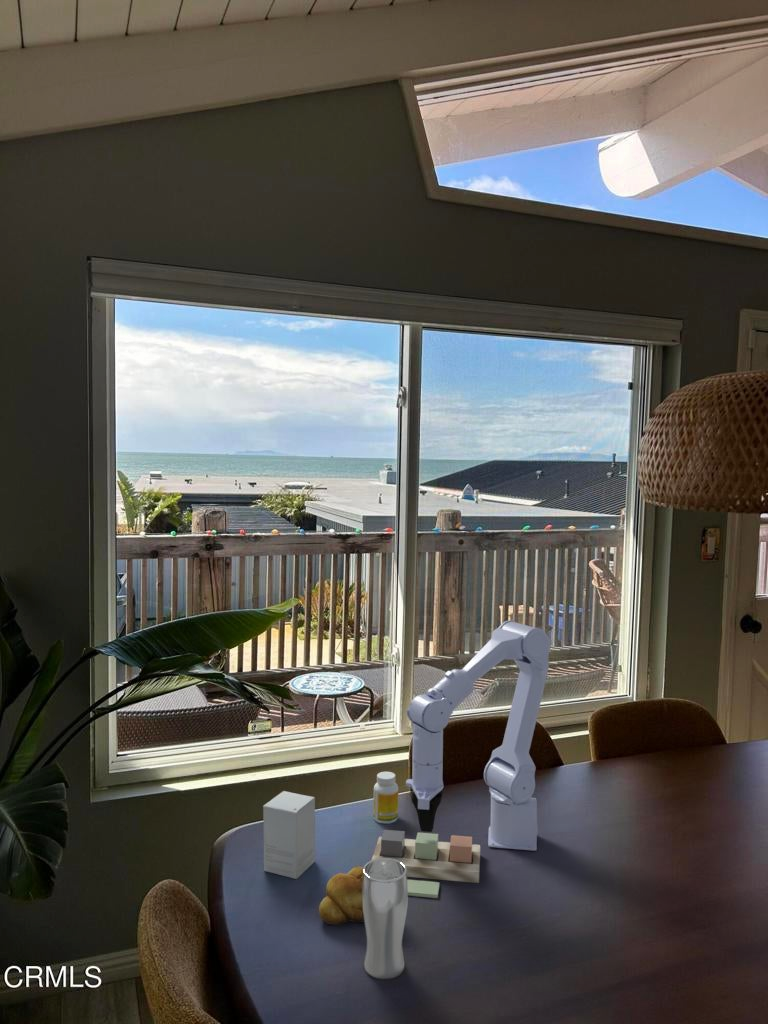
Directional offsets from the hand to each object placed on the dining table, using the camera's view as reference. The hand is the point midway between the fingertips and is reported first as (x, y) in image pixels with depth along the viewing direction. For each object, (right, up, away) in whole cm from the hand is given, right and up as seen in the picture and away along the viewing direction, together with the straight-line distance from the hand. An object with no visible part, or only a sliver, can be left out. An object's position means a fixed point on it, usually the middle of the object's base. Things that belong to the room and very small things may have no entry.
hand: (426, 830), depth 139 cm
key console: (0, -7, 0) cm, 7 cm away
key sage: (0, -5, 0) cm, 5 cm away
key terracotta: (+6, -5, -1) cm, 8 cm away
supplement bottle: (-8, -6, +19) cm, 21 cm away
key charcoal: (-6, -5, +1) cm, 8 cm away
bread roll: (-13, -8, -15) cm, 21 cm away
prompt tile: (-1, -7, -9) cm, 11 cm away
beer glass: (-8, -8, -29) cm, 31 cm away
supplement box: (-26, -7, -1) cm, 27 cm away
